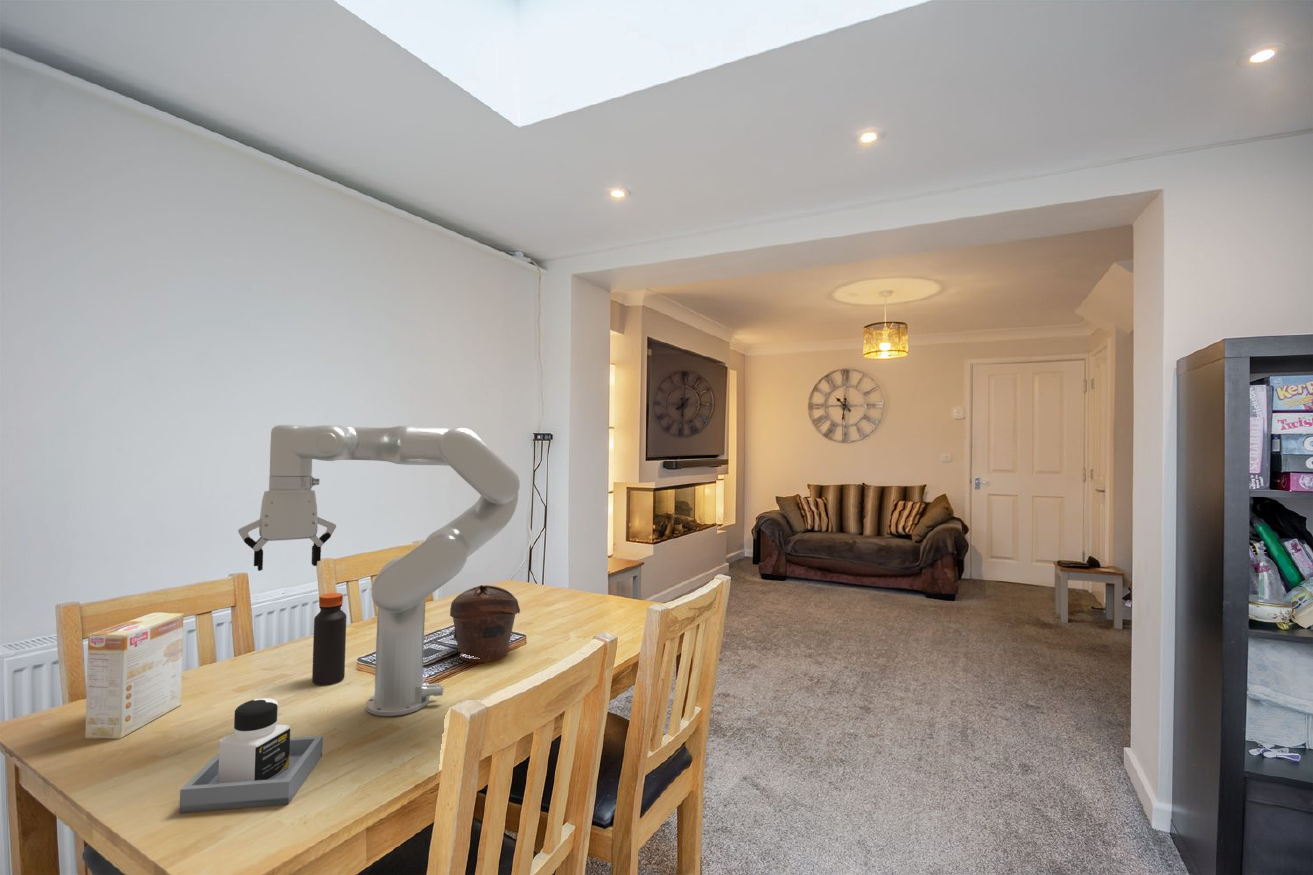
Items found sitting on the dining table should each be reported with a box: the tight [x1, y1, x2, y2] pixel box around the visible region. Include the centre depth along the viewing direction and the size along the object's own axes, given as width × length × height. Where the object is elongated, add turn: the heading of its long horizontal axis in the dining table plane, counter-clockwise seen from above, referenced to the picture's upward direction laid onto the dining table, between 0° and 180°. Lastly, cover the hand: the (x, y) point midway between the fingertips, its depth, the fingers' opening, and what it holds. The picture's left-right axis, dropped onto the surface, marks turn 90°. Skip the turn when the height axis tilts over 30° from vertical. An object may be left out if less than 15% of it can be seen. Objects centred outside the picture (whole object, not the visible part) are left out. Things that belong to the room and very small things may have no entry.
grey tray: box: [178, 735, 324, 814], centre depth 100 cm, size 15×15×4 cm
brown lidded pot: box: [449, 584, 521, 663], centre depth 163 cm, size 18×20×18 cm
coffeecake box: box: [84, 612, 185, 740], centre depth 120 cm, size 15×7×20 cm, turn 1°
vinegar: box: [311, 592, 347, 686], centre depth 142 cm, size 7×7×20 cm
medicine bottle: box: [218, 697, 291, 783], centre depth 100 cm, size 7×7×12 cm
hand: (287, 567), depth 124 cm, fingers open, 9 cm apart
